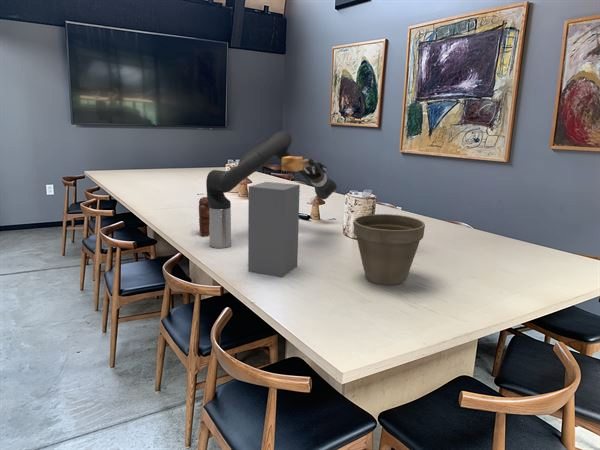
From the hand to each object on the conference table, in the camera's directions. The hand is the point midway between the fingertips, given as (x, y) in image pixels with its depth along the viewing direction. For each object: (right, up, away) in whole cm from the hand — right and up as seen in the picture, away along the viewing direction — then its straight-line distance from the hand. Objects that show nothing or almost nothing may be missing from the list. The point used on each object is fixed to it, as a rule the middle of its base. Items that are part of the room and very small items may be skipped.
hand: (305, 159), depth 194 cm
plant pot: (+29, -47, -23) cm, 60 cm away
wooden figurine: (-48, -32, +32) cm, 66 cm away
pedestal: (-13, -44, -16) cm, 49 cm away
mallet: (-3, -4, -5) cm, 7 cm away
